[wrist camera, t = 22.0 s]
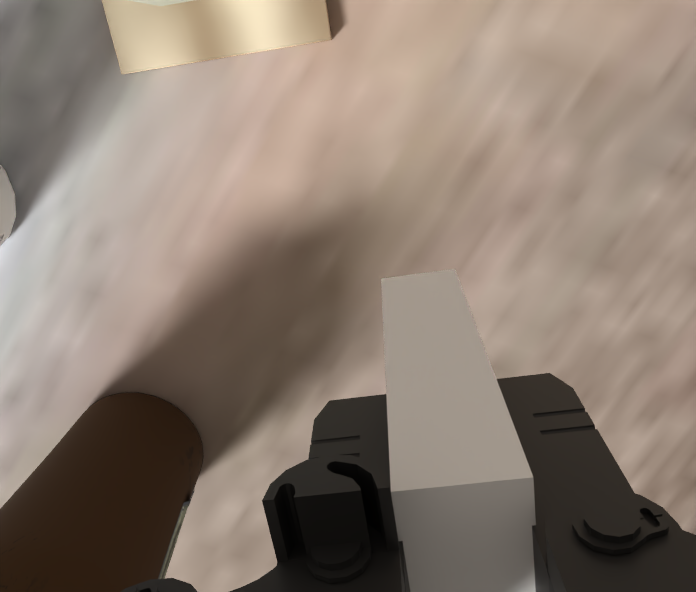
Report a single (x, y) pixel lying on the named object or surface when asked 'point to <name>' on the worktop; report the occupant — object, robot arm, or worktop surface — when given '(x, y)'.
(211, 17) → the post base
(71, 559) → the olive oil
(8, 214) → the supplement can
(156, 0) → the tall mint green block
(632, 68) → the worktop surface
